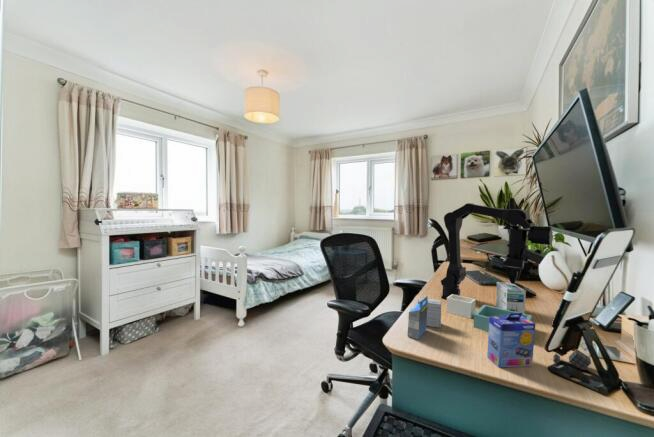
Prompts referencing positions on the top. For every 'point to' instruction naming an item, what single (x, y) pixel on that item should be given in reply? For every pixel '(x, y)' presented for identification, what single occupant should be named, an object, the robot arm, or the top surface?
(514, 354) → the ink cartridge box
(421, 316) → the label tape box
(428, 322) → the medicine box
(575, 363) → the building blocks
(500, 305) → the light bulb box
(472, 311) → the small crate
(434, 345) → the top surface
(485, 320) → the box
